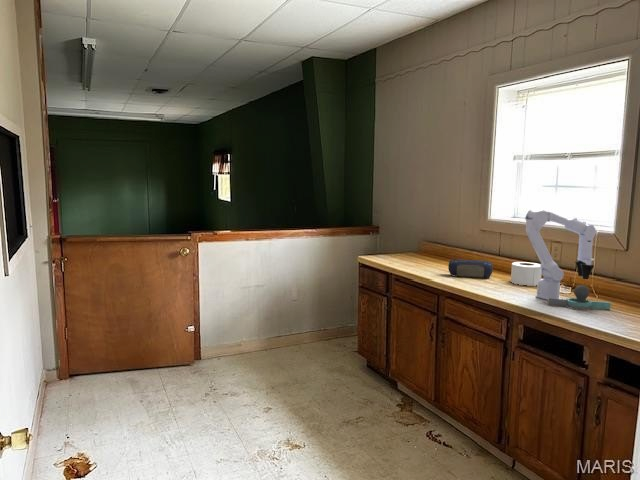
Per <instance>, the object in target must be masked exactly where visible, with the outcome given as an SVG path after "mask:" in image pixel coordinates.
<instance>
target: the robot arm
mask: <svg viewBox="0 0 640 480" xmlns="http://www.w3.org/2000/svg"><path fill="white" fill-rule="evenodd" d="M524 219H525V233H526V235H527V238H528V239H529V241H530V243H531V246H532V247H533V250H534V251H535V253H536V255H537V257H538V260H539V261H540V267H541V273H542V274H541V276H543V278H541V279H540V280H539V281H538V285H537V286H536V287H537V288H536V295H535V297H536V298H539V299H543V300H547V301H548V298H552V299H564V298H562V297H560V288H561V280H563V278H564V276H565V273H564V270H562V268H560V266H559V265H558V264H557V263H556V262H555V261H554V259H553V257H552V256H551V254H550V251H549V249H548V247H547V245H546V242H545V240H544V239H543V237H542V234H541V233H540V231H541V229H542V228H543V227H544V226H545V225H546V223H547V222H554V223H557V224H559V225H562V226H564V228H565V230H568V231H570V232H573V233H576V234H577V235H578V236H579V238H578V250H577V251H578V252H577V260H575V261H574V263H575V265H576V269H577V275H578V277H582V279H583V280H589V277H590V276H591V272H592V270H593V269H594V267H595V265H594V264H592V262H593V261H595V258H592V257H593V243H594V242H593V241H594V238H595V236H596V234H597V233H598V232H597V230H596V227H595V226H594V225H593V224H588V223H587V222H585V221H580V220H578V218H577V217H573V218H572V217H571V218H566V217H563V216H561V215H559V214H557V213H554V212H551V211H547V210H544V209H543V210H541V209H534V208H533V209H530V210H528V212H527V213H526V215H525V217H524Z"/></svg>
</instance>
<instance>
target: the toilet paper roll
mask: <svg viewBox="0 0 640 480" xmlns="http://www.w3.org/2000/svg"><path fill="white" fill-rule="evenodd" d="M540 265H541V263H536V262H527V261H515V262H512V263H511V270H510V271H511V273H510V274H511V275H510V283H511V282H512V284H513V283H514V285H517V284H519V285H518V286H523V285H527V286H526V287H537V286H536V285H538V281H539V280H540V279H542V273H541V267H540Z"/></svg>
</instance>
